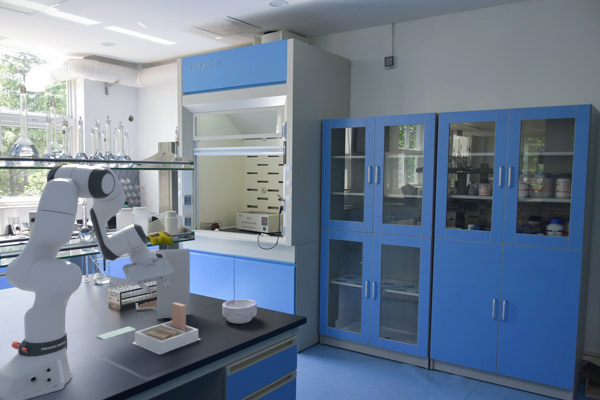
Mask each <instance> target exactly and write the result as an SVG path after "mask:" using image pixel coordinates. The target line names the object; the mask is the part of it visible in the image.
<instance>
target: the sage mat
mask: <svg viewBox="0 0 600 400" xmlns="http://www.w3.org/2000/svg"><path fill="white" fill-rule="evenodd" d="M136 330H137V329H136V328H134V327H132V326H126V327H122V328H119V329H115V330H112V331H108V332H105V333H102V334H98V335H96V338H98V339H101V340H102V339H103V340H106V339H109V338H112V337H113V338H114V337H116V336H119V335H123V334H126V333H128V332H132V331H136Z"/></svg>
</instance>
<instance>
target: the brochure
mask: <svg viewBox="0 0 600 400" xmlns="http://www.w3.org/2000/svg"><path fill="white" fill-rule="evenodd" d="M155 251H156V252H155V253H159V254H164V256H165V259H166V260H167V261H168V262H169V263H170V265H171V266H172V268H173V270H174V273H173V275H172V276H171V277H170V278H169V281H168V282H169V284H170V286H169V287H166V288H165V286H164V283H165V281H164V280H163V279H161V280H157V281H155V282H156V292H157V311H156V320H163V319H162V318H169V319H172V303H175V302H177V303H180V304H184V305H186V316H189V315H190V314H191V312H190V311H191V303H190V302H191V301H190V300H191V297H190V296H191V292H190V291H191V290H190V288H191V279H190V278H191V276H190V275H191V264H190V263H191V259H190V258H191V257H190V256H191V253H190V249H189V248H176V249H175V248H174V249H170V248H169V249H156V250H155Z"/></svg>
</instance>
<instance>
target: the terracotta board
mask: <svg viewBox="0 0 600 400" xmlns="http://www.w3.org/2000/svg"><path fill="white" fill-rule="evenodd" d="M171 321H172V327H173V328H175V329H178V330H181V331H184V332H186V325H187V315H186V305H184V304H180V303H177V302H175V303H172V318H171Z"/></svg>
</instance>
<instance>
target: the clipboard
mask: <svg viewBox="0 0 600 400" xmlns="http://www.w3.org/2000/svg"><path fill="white" fill-rule="evenodd" d="M135 311H136V312H145V311H146V312H147V311H154V312H157V300H154V301H150V302H145V303H143V304H140V305H138V303H136V302H135Z"/></svg>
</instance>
